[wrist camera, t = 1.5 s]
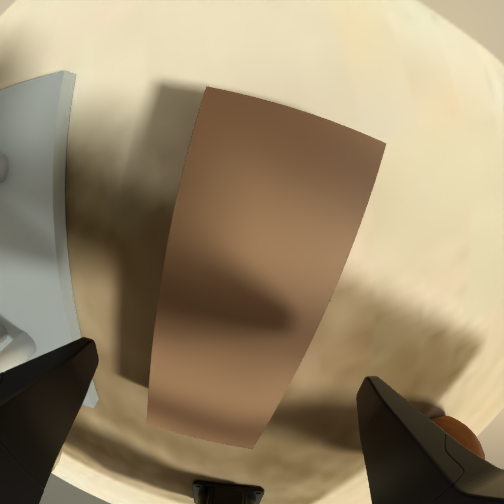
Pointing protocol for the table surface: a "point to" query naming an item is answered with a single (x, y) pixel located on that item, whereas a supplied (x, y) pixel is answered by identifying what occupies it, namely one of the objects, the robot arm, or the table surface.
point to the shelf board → (251, 261)
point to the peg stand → (35, 222)
